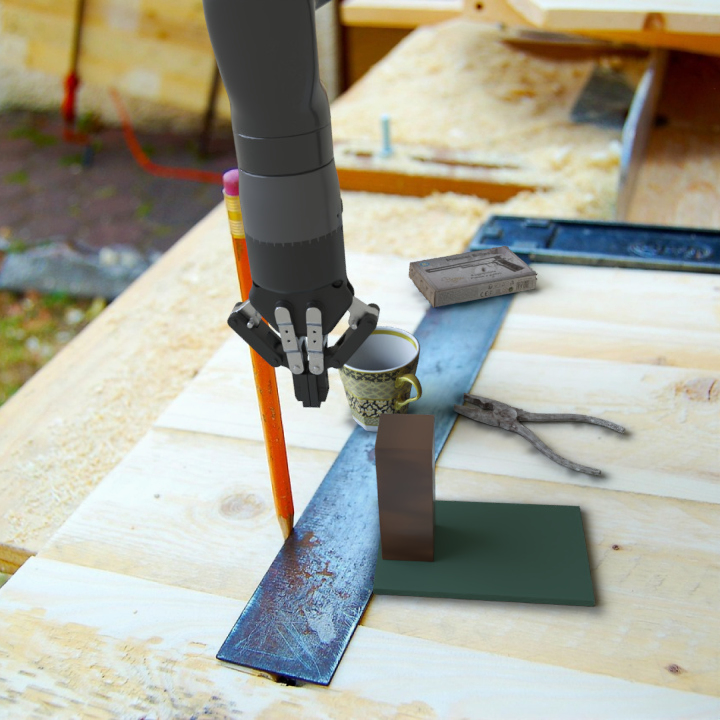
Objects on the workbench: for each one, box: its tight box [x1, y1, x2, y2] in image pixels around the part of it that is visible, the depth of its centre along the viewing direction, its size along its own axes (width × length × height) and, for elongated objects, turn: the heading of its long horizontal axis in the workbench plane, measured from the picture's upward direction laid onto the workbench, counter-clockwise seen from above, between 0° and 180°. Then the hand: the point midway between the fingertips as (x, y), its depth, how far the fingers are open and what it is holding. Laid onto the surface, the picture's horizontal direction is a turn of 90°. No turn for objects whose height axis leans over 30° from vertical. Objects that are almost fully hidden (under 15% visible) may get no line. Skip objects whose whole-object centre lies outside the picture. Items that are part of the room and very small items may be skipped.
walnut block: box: [373, 413, 437, 562], centre depth 72 cm, size 5×5×14 cm
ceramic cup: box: [337, 325, 423, 433], centre depth 90 cm, size 13×10×10 cm
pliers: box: [452, 392, 626, 476], centre depth 89 cm, size 10×1×20 cm
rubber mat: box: [372, 499, 596, 607], centre depth 75 cm, size 20×12×1 cm, turn 83°
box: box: [407, 245, 539, 309], centre depth 120 cm, size 11×17×3 cm, turn 108°
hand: (313, 402), depth 67 cm, fingers closed
